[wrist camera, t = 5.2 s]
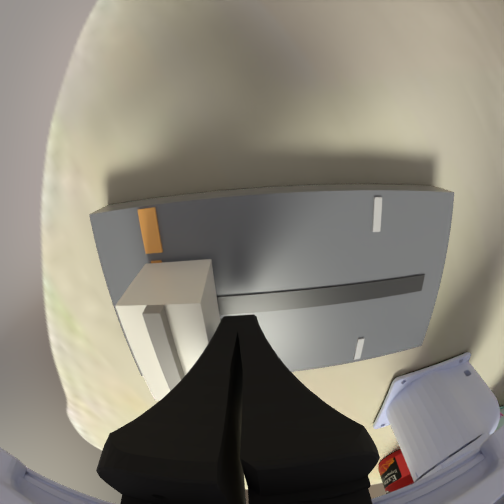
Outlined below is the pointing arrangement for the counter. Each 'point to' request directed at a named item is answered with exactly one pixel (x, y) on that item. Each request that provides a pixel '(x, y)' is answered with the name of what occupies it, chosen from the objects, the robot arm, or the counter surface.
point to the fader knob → (169, 319)
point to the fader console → (298, 260)
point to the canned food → (395, 472)
